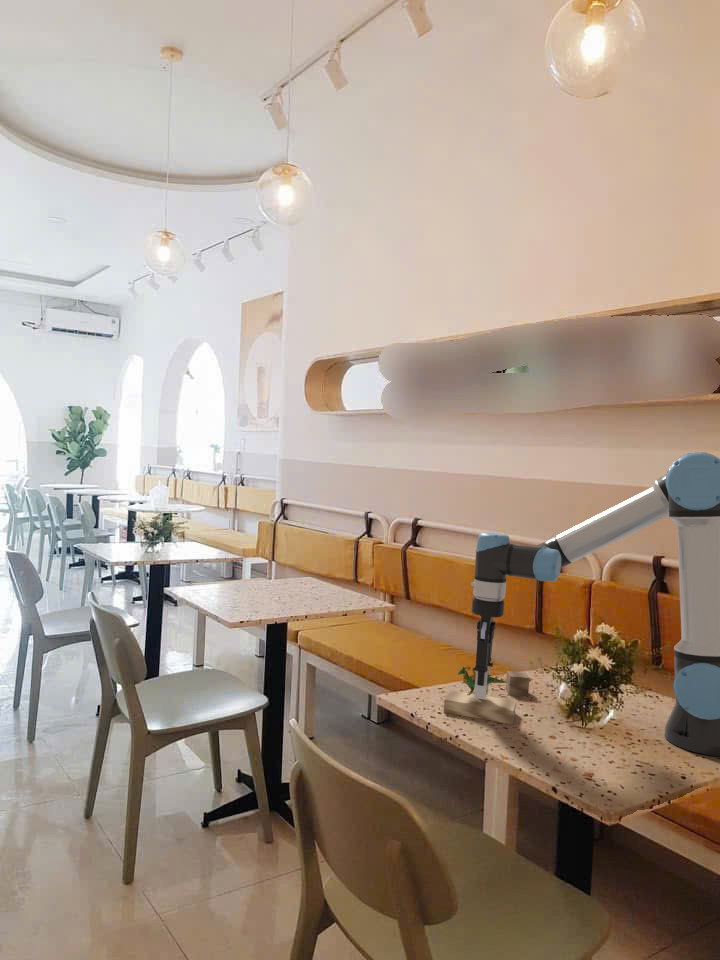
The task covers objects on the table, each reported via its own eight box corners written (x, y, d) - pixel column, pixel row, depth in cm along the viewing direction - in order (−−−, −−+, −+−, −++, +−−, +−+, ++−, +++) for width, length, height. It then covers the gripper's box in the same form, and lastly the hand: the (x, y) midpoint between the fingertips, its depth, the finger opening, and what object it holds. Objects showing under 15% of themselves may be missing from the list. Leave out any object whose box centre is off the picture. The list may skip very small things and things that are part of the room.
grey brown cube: (524, 690, 189) (525, 672, 189) (528, 696, 184) (529, 677, 184) (505, 689, 189) (506, 670, 189) (508, 695, 184) (510, 676, 184)
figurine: (458, 690, 173) (460, 657, 172) (507, 700, 168) (509, 666, 167) (454, 693, 170) (457, 660, 169) (504, 704, 165) (507, 669, 165)
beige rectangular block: (515, 713, 170) (516, 700, 170) (512, 724, 163) (513, 711, 163) (449, 702, 175) (450, 690, 175) (443, 712, 167) (444, 699, 167)
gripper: (477, 591, 177) (470, 684, 177) (467, 601, 162) (459, 703, 162) (507, 594, 175) (500, 689, 175) (501, 605, 159) (492, 708, 160)
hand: (480, 695), depth 169 cm, fingers closed on figurine, 3 cm apart
